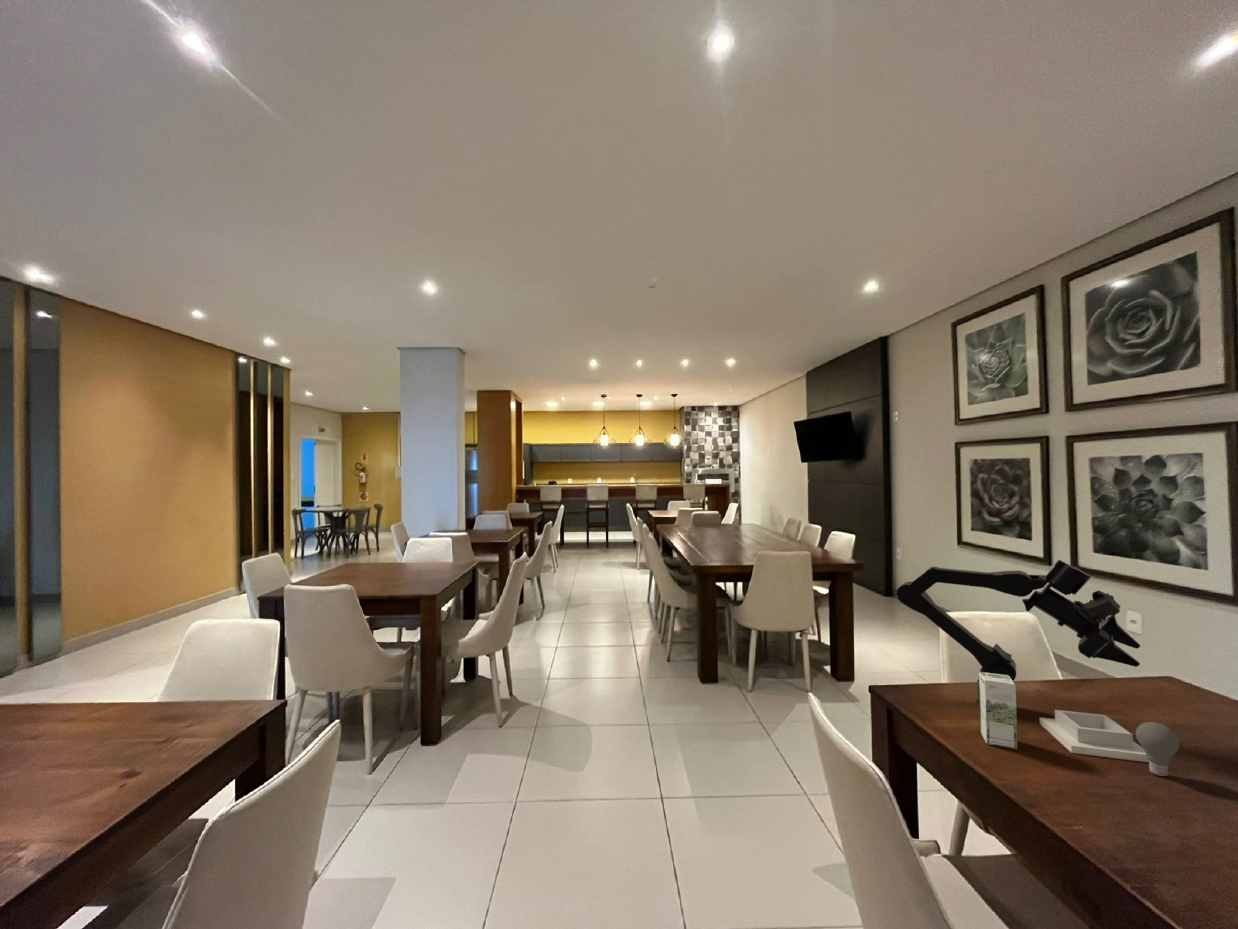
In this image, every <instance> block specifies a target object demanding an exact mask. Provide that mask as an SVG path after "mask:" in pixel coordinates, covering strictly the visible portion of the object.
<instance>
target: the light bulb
mask: <svg viewBox="0 0 1238 929" xmlns="http://www.w3.org/2000/svg"><path fill="white" fill-rule="evenodd" d="M1135 736H1136V740H1137V741H1138V743H1139V744H1140V746H1141V747H1142V748H1143V749H1144V750H1145V752H1146V756H1147V758H1148V760H1149V762H1148V767H1149V772H1151V773H1153V774H1154V775H1157V776H1159V777H1167V776H1169V765H1170V763H1171V759H1172V757H1173V756H1174V755H1175V754H1177V753H1178V751H1179V749H1180V740H1179V738H1178V736H1177V735H1176V734H1175V733H1174V732H1173V730H1172V729H1170V728H1169V727H1168V726H1166V725H1164V724H1162V723H1159V722H1155V721H1146V722H1143V723H1141V724H1139V725H1138V726H1137V728H1136V730H1135Z"/></svg>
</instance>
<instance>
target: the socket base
mask: <svg viewBox="0 0 1238 929" xmlns="http://www.w3.org/2000/svg"><path fill="white" fill-rule="evenodd" d="M1039 725H1041V726H1042V727H1043V729H1045V730H1046V731H1048V733H1050V735H1052V736H1053V737H1054V738H1055V739H1056V740H1057V741H1058V742H1059V743H1060V744H1062V746H1064V747H1065V748H1066V749H1067V750H1068V751H1069V752H1070V753H1072V754H1077V755H1079V754H1080V755H1087V756H1095V757H1104V758H1111V759H1119V760H1125V761H1134V762H1142V763H1149V760H1148V758H1147V756H1146V752H1145V750H1144V749H1143V747H1142V746H1141V744H1140V745H1139V744H1138V743H1137V742H1135V741H1134V737H1133V736H1134V735H1133V734H1132V733H1131V732H1130V731H1128V730H1127V729H1126V728H1124V727H1122V725H1120V724H1119V723H1117V722H1116V721H1114V720H1113V719H1111V718H1110V717H1108V716H1107V715H1105V714H1098V713H1090V712H1082V711H1081V712H1079V711H1073V710H1071V711H1070V710H1062V709H1061V710H1060V709H1054V718H1049V717H1048V718H1047V717H1039Z"/></svg>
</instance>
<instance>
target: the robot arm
mask: <svg viewBox="0 0 1238 929" xmlns="http://www.w3.org/2000/svg"><path fill="white" fill-rule="evenodd" d="M1091 578H1092V576H1091V575H1090V574H1088V573H1086V572H1085V571H1083V570H1082V569H1080V568H1078V567H1076V566H1074V565H1071V564H1069V563H1067V562H1065V561H1063V560H1061V559H1058V560H1056V562H1055V564H1054V566H1053V567H1052V568H1051V569H1050V570H1049V571H1048V573H1047V574H1045V575H1044V574H1028V573H1027V572H1025V571H1022V570H1002V571H993V572H985V571H976V570H966V569H957V568H956V569H955V568H944V567H938V566H931V567H929V568H928V569H926V571H925V572H924V573H922V574H921V575H920V576H918V577H917V578H916V579H914V580H913V581H906V582H903V583H902V584H901V585H900V586H899V587H898V588H897V590H896V598H897V600H898V601H899V602H900V603H901V604H902V605H905V606H906V607H908V608H909V609H910V610H912V611H915V612H917V613H919V614H921V615H923V616H925V617H926V618H927V619H928V620H930V621H931V622H932V623H934V625H936V626H937V627H938V628H939V629H941V630H942V631H943V632H945V634H947V635H948V636H949V637H950V638H952V639H953V640H955V642H957V643H958V644H959V645H960V646H961V647H962V648H964V649H965V650H966V651H968V653H970V654H971V655H972V656H973V658H975V659H976V661H977V662H978V663H979V665H980V666H981V667H980V669H979V672H984V673H993V674H1001V675H1008V676H1009V677H1010V678H1011V679H1012V681H1013V682H1014V681H1015V679H1016V678H1017V664H1016V662H1015V660H1014V659H1013V658H1012V654H1011V653H1008V652H1006V651H1005V649H1003V648H1002V647H1001V646H1000V645H999V644H998V643H995V644H994V645H993V646H991V645H988V644H987V643H985V642H983V641H982V640H981V639H980V638H978V637H977V636H976V635H975V634H973V633H972V632H970V631H969V630H968V629H967V628H965V627H964V625H962V624H961V623H959V622H958V621H957V620H956V619H954V617H953V616H951V615H950V614H948V612H946V611H945V610H943V609H942V608H941V607H939V605H937V604H936V603H935V602H934V600H933V599H932V598H931V596H930V595H929V594H928V593H927V592H926V591H927V590H928V589H930V588H931V587H932V586H934V585H935V584H936V583H937V584H938V583H941V584H948V585H959V586H966V587H968V586H969V587H975V588H985V589H990V590H994V591H997V592H1000V593H1002V594H1007V595H1011V596H1014V597H1015V596H1016V597H1021V598H1022V602H1023V604H1024V607H1025V611H1026V612H1030V611H1031V610H1032V609H1033V607H1034V608H1036V609H1039V611H1041V612H1043V613H1044V614H1046V615H1047V616H1049V617H1050V618H1053V619H1054V620H1056V621H1057V623H1056V624H1057V625H1058V626H1060V627H1063V626H1065V627H1067V628H1068V629H1070V630H1071V631H1074V632H1075V633H1076V637H1077V638H1079V639H1080V640H1079V641H1078V645H1077V648H1078V649H1077V650H1078V652H1079V654H1082V655H1083V656H1085V657H1086V658H1088V659H1090V658H1093V659H1096V658H1098V659H1102V660H1106V661H1111V662H1115V663H1118V664H1119V663H1120V664H1123V665H1127V666H1132V667H1135V668H1137V667H1139V666H1140V664H1141V663H1140V662H1139V661H1138V660H1136V659H1135V657H1133V656H1132V655H1130V654H1129V653H1127V652H1126V651H1124V649H1122V648H1121V647H1120V646H1118V645H1117V644H1116V643H1115V642H1117V643H1119V644H1122V645H1125V646H1128V647H1131V648H1133V649H1139V648H1140V647H1141V645H1140V643H1139V642H1138V641H1136V640H1135V639H1134V638H1133V637H1132V636H1131V635H1130V634H1129V633H1128V632H1126V631H1125V629H1124V628H1122V627H1121V625H1119V624H1118V622H1117V616H1116V615H1117V614H1119V613H1120V612H1121V610H1120V608H1121V605H1120V604H1119V603H1118V602H1117V601H1116V600H1115V597H1114V596H1113V595H1110V593H1105V592H1103V591H1101V590H1096V591H1094V592H1092V593H1091V596H1092V599H1090V600H1089V601H1088V602H1086V603H1083V602H1082V601H1079V600H1074V601H1072V600H1071V599H1068V598H1067V597H1065V596H1068V595H1071V594H1072V595H1074V596H1075V595H1076V594H1077V593H1078V592H1079V591H1080V590H1081V589H1082V588H1083V587H1084V586H1085V585H1086V584H1087V583H1088V582H1089V580H1090V579H1091ZM1051 588H1053V589H1054V590H1053V589H1051ZM1040 589H1041V591H1039V590H1040ZM1055 590H1056V591H1057V592H1056V591H1055ZM1031 593H1032V594H1031ZM1060 593H1061V594H1060ZM1062 594H1063V595H1065V596H1063V595H1062ZM1029 595H1030V596H1029ZM1028 596H1029V598H1023V597H1028ZM976 681H977V682H976V683H977V684H976V687H977V699H975V702H976V704H978V705H979V707H980V686H979V677H978V679H977V680H976Z"/></svg>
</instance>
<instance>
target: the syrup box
mask: <svg viewBox="0 0 1238 929" xmlns="http://www.w3.org/2000/svg"><path fill="white" fill-rule="evenodd" d="M978 678H979V679H978V680H979V686H980V706H979V713H980V714H979V715H980V718H979V719H980V734H981V735H982V738H983V740H984V742H985V744H986V745H991V746H995V747H1001V748H1006V749H1012V750H1013V749H1014V750H1017V749H1018V726H1017V724H1018V723H1017V721H1018V720H1017V689H1016V688H1017V686H1016V684H1015V683H1014V681H1012V679H1011V678H1010V677H1009V676H1008V675H1001V674H993V673H984V672H980V671H979V672H978Z"/></svg>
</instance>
